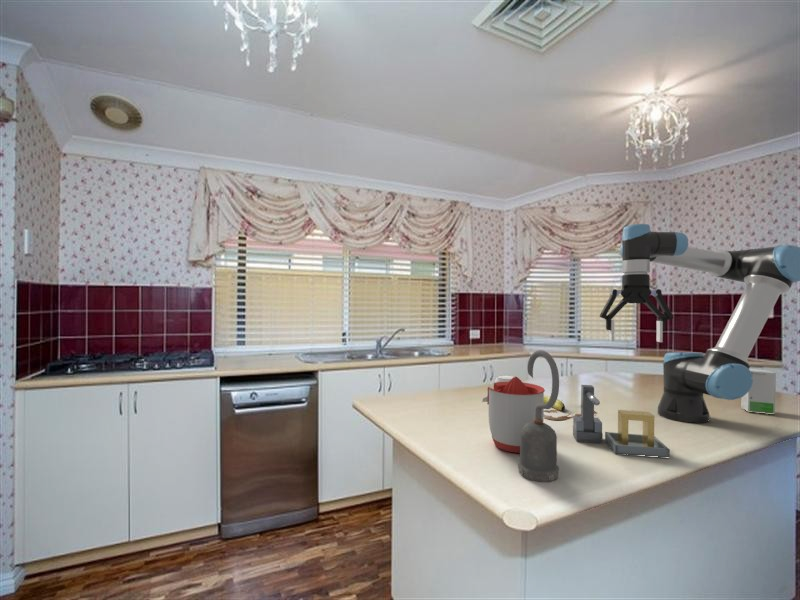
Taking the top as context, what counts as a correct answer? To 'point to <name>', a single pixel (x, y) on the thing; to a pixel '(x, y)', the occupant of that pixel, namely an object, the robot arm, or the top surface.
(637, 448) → the tray
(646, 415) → the wooden arch block
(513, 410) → the citrus juicer
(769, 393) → the skincare box
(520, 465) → the hook
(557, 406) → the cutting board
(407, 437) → the top surface
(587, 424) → the grey faucet post
